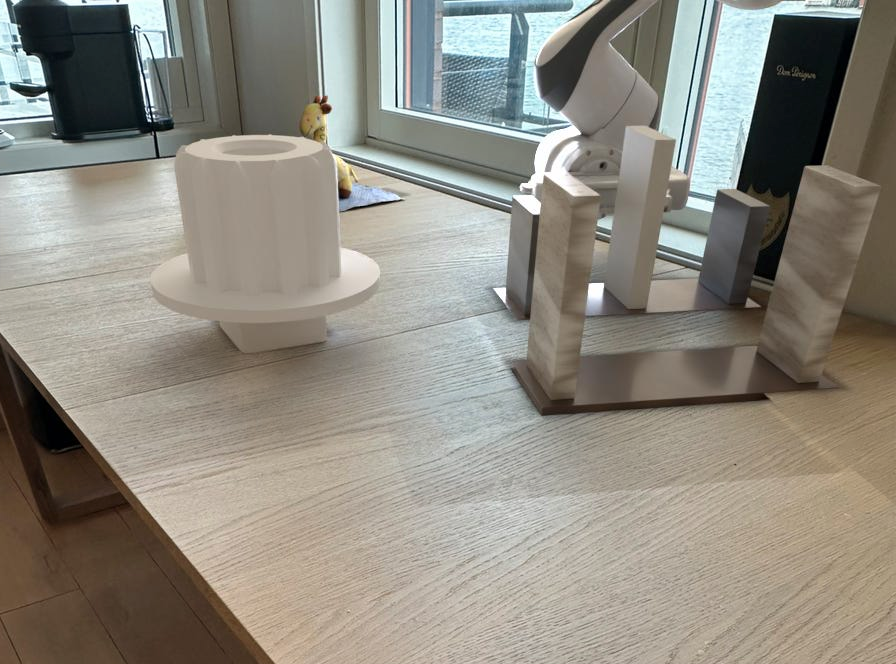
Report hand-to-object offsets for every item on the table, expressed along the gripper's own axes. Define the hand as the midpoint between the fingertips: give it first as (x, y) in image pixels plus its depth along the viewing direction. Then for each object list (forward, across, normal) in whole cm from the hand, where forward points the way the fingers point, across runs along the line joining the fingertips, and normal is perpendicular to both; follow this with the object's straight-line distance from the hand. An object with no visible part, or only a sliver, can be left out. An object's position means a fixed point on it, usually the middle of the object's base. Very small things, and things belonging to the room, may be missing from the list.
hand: (629, 206), depth 104 cm
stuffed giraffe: (-58, -30, +10) cm, 66 cm away
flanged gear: (+7, -44, +10) cm, 46 cm away
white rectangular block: (+3, 0, +10) cm, 10 cm away
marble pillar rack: (+27, -4, +10) cm, 29 cm away
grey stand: (+3, 0, +10) cm, 11 cm away
